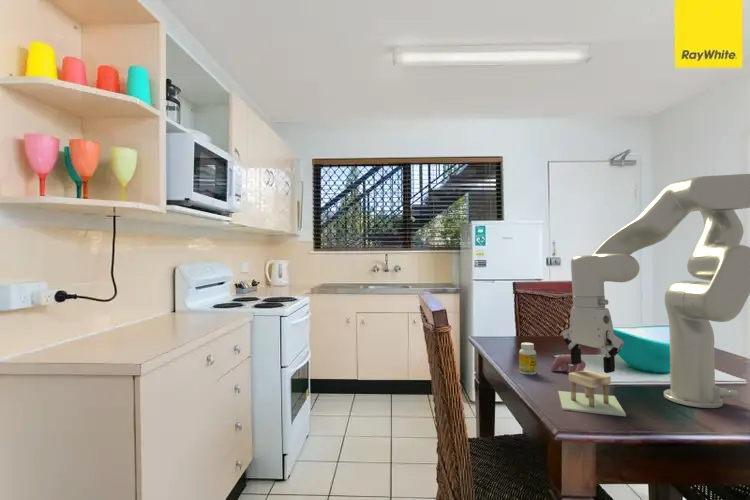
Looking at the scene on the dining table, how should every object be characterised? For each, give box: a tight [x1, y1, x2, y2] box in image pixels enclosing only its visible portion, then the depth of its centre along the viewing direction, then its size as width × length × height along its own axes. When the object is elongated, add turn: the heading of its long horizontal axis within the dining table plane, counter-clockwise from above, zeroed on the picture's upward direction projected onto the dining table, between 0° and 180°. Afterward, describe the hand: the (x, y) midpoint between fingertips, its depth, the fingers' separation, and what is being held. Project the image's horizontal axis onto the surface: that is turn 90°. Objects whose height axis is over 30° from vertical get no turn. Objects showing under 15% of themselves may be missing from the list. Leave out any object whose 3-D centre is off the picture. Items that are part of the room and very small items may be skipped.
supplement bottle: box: [518, 342, 538, 376], centre depth 140 cm, size 5×5×10 cm
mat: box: [557, 390, 627, 417], centre depth 111 cm, size 14×14×1 cm
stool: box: [568, 369, 612, 407], centre depth 111 cm, size 7×7×7 cm
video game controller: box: [550, 354, 587, 373], centre depth 140 cm, size 10×5×7 cm, turn 35°
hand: (592, 367), depth 111 cm, fingers open, 9 cm apart
